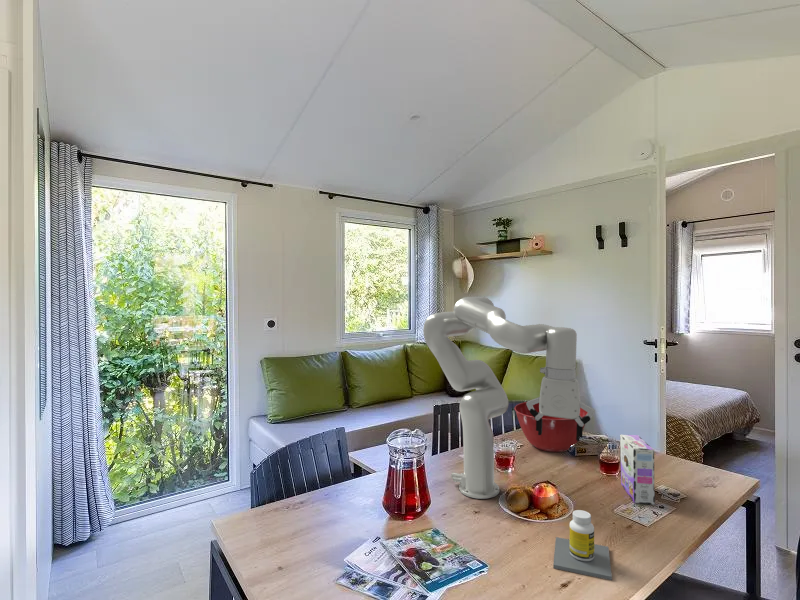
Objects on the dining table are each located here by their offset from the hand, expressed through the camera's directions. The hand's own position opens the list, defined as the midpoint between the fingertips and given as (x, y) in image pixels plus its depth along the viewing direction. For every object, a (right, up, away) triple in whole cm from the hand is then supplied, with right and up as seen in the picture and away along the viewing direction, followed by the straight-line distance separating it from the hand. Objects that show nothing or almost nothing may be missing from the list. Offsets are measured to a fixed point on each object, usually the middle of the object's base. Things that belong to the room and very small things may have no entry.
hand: (558, 436), depth 117 cm
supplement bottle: (0, -23, -15) cm, 28 cm away
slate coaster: (0, -24, -15) cm, 28 cm away
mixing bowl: (+19, -23, +60) cm, 66 cm away
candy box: (+30, -23, +17) cm, 42 cm away
